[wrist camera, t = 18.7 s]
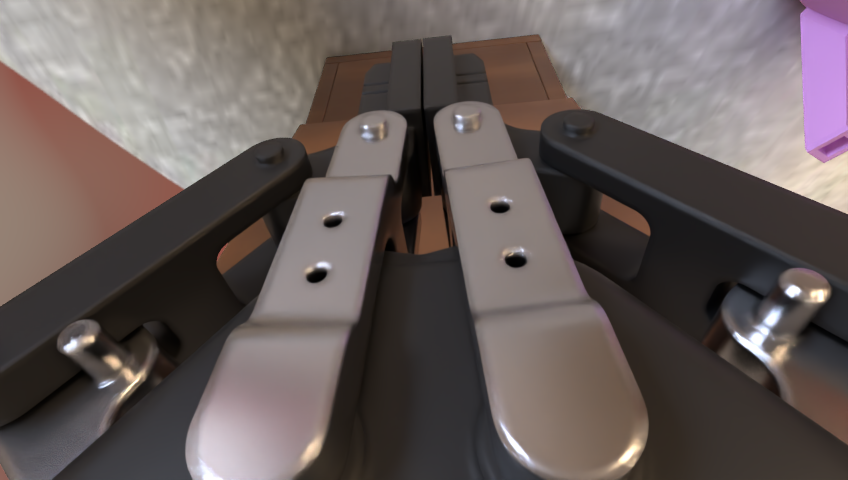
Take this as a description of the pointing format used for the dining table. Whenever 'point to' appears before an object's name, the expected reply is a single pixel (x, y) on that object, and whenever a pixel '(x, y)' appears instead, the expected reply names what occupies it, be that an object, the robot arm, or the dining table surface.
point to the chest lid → (432, 208)
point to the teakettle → (825, 77)
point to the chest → (503, 58)
